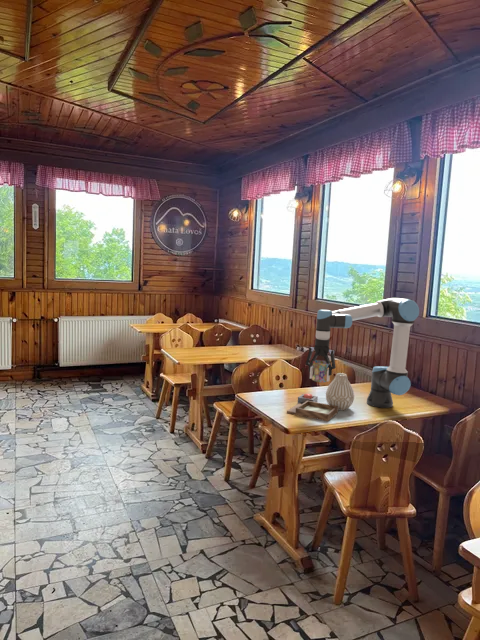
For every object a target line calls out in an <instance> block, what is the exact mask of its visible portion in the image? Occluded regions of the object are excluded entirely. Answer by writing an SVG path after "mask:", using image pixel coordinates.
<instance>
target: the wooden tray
mask: <svg viewBox="0 0 480 640" xmlns="http://www.w3.org/2000/svg"><path fill="white" fill-rule="evenodd" d="M338 412H339V410H338V406H333V405H329V404H328V403H327V404H326V403H322V402H318V401H317V402H312V401H306V402H304V403H303V404H301V403H298V402H297V404H295V405H293V406H292V407H290V408H289V409H287V410H286V414H290V415H294V414H295V415H294V416H299V417H300V416H301V417H304V418H309V419H314V420H320V421H324V422H329V421H330V420H331V419H333V417H335V416H336V415H337V414H338Z"/></svg>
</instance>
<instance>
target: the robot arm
mask: <svg viewBox="0 0 480 640" xmlns="http://www.w3.org/2000/svg"><path fill="white" fill-rule="evenodd" d="M316 314H317V315H316V325H315V326H316V329H315V341H314V342H315V343H314V347H312V346H311V347H309V348H308V355H307V357H306V361H305V365H306V366H308V373H309V379H311V380H312V377H313V375H314V368H313V361H315V360H317V358H318V356H321V357H323V358H324V361H326V363H327V364H329V363H330V364H329V366H328V369H327V382H330V378H331V376H332V375H333V374H332V373H333V370H334V369H336V367H337V366H336V360H335V359H336V358H335V350H334V349H330V339H331V338H330V337H331V328H332V329H333V328H335V329H350V328H351V327H352V325H353V322H354V321H357V320H364V319H369V318H373V317H378V318H385V317H386V318H391V323H392V324H393V332H392V341H391V342H392V343H391V352H390V359H389V365H388V366H383V365H382V366H381V365H380V366H379V365H378V366H373V368H372V372H371V384H370V391H369V393H368V396H367V398H366V404H367V405H369V406H371V407H376V408H382V409H388V408H392V407H394V406H393V405H394V402H393V397H392V395H396V396H402V395H405V394H406V393H407V392H408V391H409V390H410V389H411V385H412V383H411V379H410V378H409V377H408V373H409V371H408V370H407V369H406V368H407V367H406V365H407V358H408V348H409V341H410V330H411V326H413V325H414V323H415V320H416V319H417V318H418V317H419V315H420V308H419V305H418V303H417V302H416V301H415V300H413V299H412V300H411V299H409V298H400V297H390V298H386V299H381V300H376V301H375V302H374V303H370V304H364V305H363V304H362V305H359V306H354V307H353V306H352V307H348V308H343V309H337V310H329V309H319V310H317V313H316ZM313 352H315V353H314V355H313ZM329 354H330V358H329ZM312 355H313V356H312ZM327 382H326V383H327Z"/></svg>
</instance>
